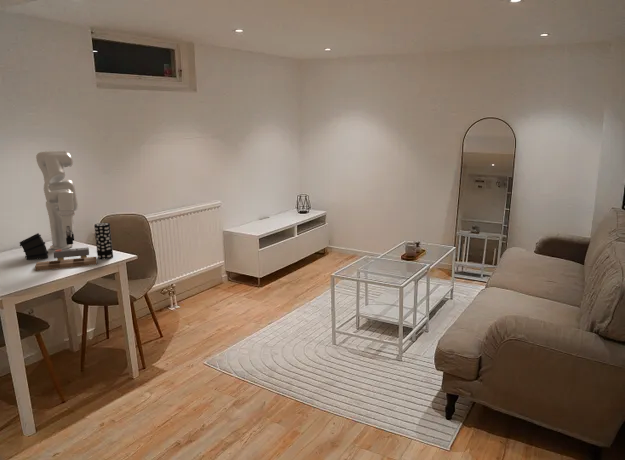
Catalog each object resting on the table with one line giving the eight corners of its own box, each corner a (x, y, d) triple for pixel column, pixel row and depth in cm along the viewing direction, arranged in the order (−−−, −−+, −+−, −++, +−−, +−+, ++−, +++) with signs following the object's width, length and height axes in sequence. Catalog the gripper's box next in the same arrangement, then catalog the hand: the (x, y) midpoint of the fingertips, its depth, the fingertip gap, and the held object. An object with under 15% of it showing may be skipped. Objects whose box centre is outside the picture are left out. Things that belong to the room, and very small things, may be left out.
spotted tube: (96, 259, 278) (92, 226, 273) (99, 255, 286) (96, 223, 281) (111, 259, 279) (108, 225, 275) (114, 255, 287) (111, 222, 283)
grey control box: (55, 260, 276) (53, 249, 275) (89, 257, 283) (88, 246, 281) (54, 262, 272) (53, 251, 271) (89, 259, 279) (88, 248, 277)
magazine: (52, 256, 279) (37, 234, 274) (31, 266, 278) (15, 244, 273) (54, 254, 283) (39, 232, 278) (33, 264, 281) (17, 243, 276)
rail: (37, 266, 265) (36, 262, 264) (96, 260, 276) (96, 256, 276) (35, 270, 258) (34, 266, 257) (96, 264, 269) (96, 260, 268)
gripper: (60, 211, 277) (64, 239, 281) (58, 215, 262) (62, 246, 265) (75, 210, 280) (78, 238, 284) (73, 214, 264) (77, 245, 268)
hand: (70, 242), depth 274 cm, fingers open, 9 cm apart
